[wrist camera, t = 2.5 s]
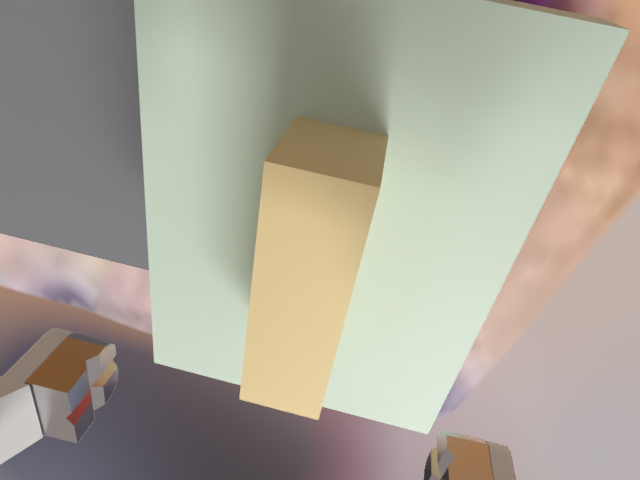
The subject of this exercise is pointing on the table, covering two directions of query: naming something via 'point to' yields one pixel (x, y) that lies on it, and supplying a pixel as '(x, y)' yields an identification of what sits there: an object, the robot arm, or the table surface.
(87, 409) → the robot arm
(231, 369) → the lid
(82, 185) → the mat
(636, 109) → the table surface
